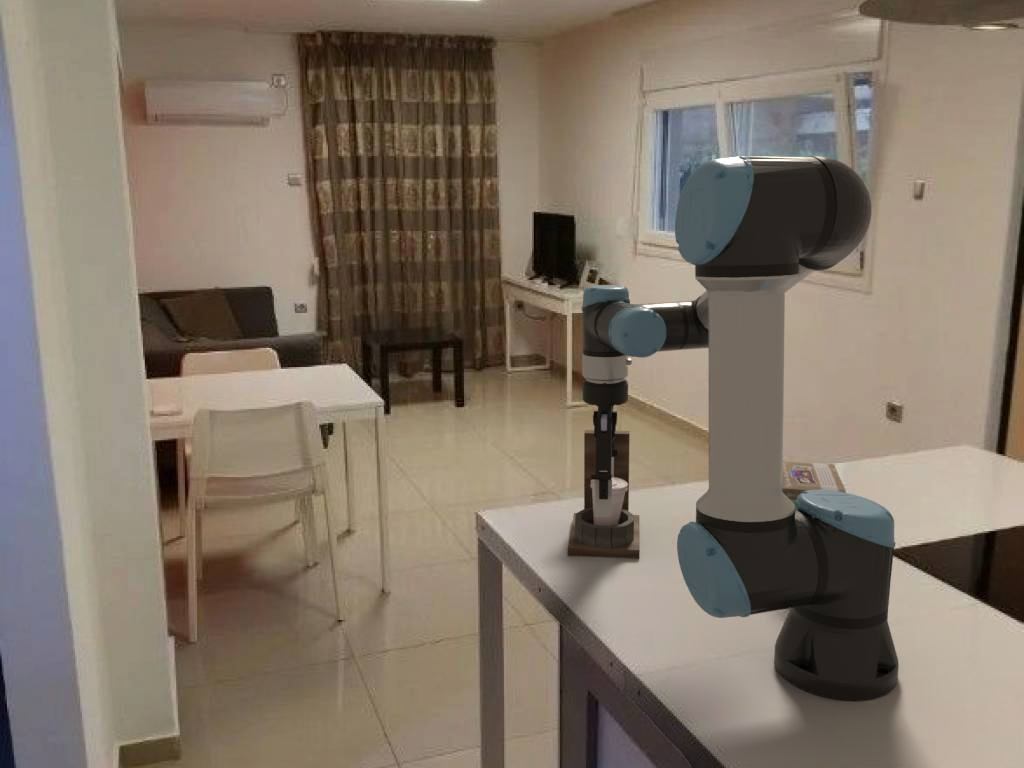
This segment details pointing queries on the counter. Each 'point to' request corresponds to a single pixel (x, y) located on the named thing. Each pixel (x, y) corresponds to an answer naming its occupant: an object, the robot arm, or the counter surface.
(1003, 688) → the counter surface
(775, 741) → the counter surface
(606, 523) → the smoothie
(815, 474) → the tea box
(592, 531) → the cup bracket
